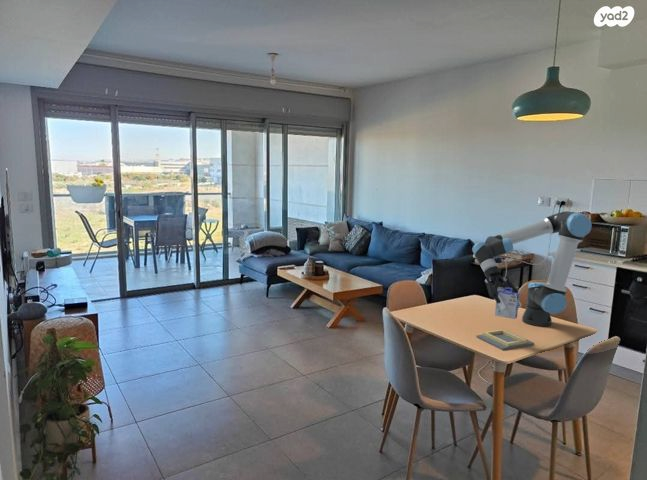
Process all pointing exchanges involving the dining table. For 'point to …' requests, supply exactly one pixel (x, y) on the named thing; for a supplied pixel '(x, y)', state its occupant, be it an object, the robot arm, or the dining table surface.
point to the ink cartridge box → (508, 304)
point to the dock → (504, 339)
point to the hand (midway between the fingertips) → (511, 307)
